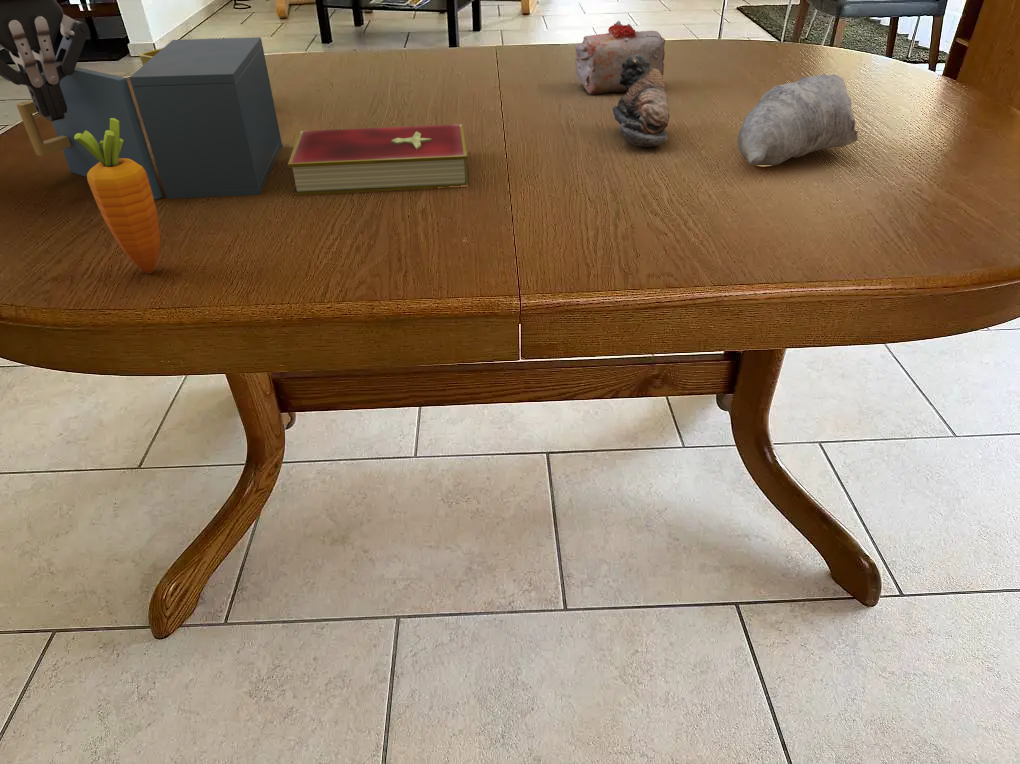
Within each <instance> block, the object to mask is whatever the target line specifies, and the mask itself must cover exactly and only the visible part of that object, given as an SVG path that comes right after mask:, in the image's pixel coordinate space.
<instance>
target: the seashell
mask: <svg viewBox="0 0 1020 764" xmlns="http://www.w3.org/2000/svg"><path fill="white" fill-rule="evenodd" d="M855 127H856V119H855V117H854V111H853V110H852V98H851V97H850V95H849V94H848V91H847V86H846V83H845V80H844V78H843V77H841V76H840V75H838V74H835V73H833V74H825V73H823V74H817V75H813V76H810V75H809V76H806V77H805V76H804V77H800V78H799V79H798V80H796V82H787V83H784V84H779V85H775V86H773V87H771V89H769V90H768V91H766V92H765V93H764V94H763V95H762V96H761V98H760V100H758V102H757V103H756V104H755V107H754V108H752V109H751V110H750V111H749V112H748V113H747V114H746V115H745V118H744V120H743V123H742V124H741V125H740V128H739V132H738V134H737V135H738V136H737V148H738V150H739V152H740V155H741V156H742V157H743V159H744V160H745V161H746V162H747V163H748V164H749V165H750V166H755V167H757V166H756V165H774V166H777V165H778V166H779V165H781V164H782V163H784V162H785V161H788V160H789V159H792V158H791V157H796V158H801V157H803V156H806V155H807V154H810V153H814V152H817V151H820V150H823V149H833V148H843V147H845V146H848V145H851V144H853V143H856V142H857V141H858V139H859V138H858V132H859V131H858V130H856V128H855ZM809 152H810V153H809ZM800 156H801V157H800Z"/></svg>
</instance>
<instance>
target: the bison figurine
mask: <svg viewBox="0 0 1020 764" xmlns="http://www.w3.org/2000/svg"><path fill="white" fill-rule="evenodd" d="M620 75H621V76H622V77H621V78H620V82H619V84H620V85H624V86H626V91H625V94H624V95H622V96H621V97H620V98H619V100H618V102H617V105H615V106H612V113H613V116H614V117H613V118H614V120H615V121H616V122H618V124H619V125H620V126H619V129H620V134H621V135H623V137H625V138H626V141H627V142H628V143H630V144H632V145H634V146H635V145H636V146H640V147H646V148H647V147H648V148H652V147H660V146H662V145H664V144H665V143H666V142H667V140H668V135H667V133H668V132H667V130H666V128H667V127H668V126H669V120H670V107H669V105H668V104H669V103H668V102H669V99H668V94H667V87H666V81H665V79H664V75H663V76H662V75H661V73H660V71H659V70H658V69H655V68H651V65H650V62H649V60H648V59H647V58H646V57H645V56H644V55H642V54H633V53H632V52H631V55H630V56H629V57H628V58H627V61H626V62H623V63H622V70H621V72H620Z"/></svg>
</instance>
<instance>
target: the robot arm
mask: <svg viewBox="0 0 1020 764" xmlns="http://www.w3.org/2000/svg"><path fill="white" fill-rule="evenodd" d="M59 30H60V34H61V35H62V39H61V41H60V44H59V47H58V49H57V52H56V55H55V51H54V47H53V46H54V45H55V42H56V39H57V37H58V33H59ZM89 33H90V28H89V25H88V24H87V23H84V22H81V21H79V20H76V19H73V18H72V17H70V16H68V15H67V14H65V13H64V10H63V8H62V7H61V5H60V4H59V3H58V2H57V0H0V47H1V48H2V49H3V50H5V51H7V52H9V55H10V58H11V59H12V61H13V62H14V64H15V65H16V67H17V70H16V69H14V67H11V66H10V65H9V64H8V63H6V62H5V61H4V60H2V59H1V58H0V77H2V78H3V79H4V80H6V81H8V82H11V83H12V84H14V85H16V86H21V85H22V86H26V87H27V89H28V92H29V95H30V97H31V100H33V103H34V106H35V109H36V111H37V113H38V114H39V115H40V116H42V117H44V118H45V119H46V120H48V121H50V122H52V121H56V120H60V119H65V116H64V113H67V105H66V103H65V99H64V96H63V93H62V91H61V88H60V80H61V79H62V78H64V77H65V76H67V75H72V74H73V72H74V69H75V67H77V64H78V61H79V59H80V56H81V53H82V51H83V48H84V46H85V43H86V42H87V41H86V40H87V38H88V35H89Z"/></svg>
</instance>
